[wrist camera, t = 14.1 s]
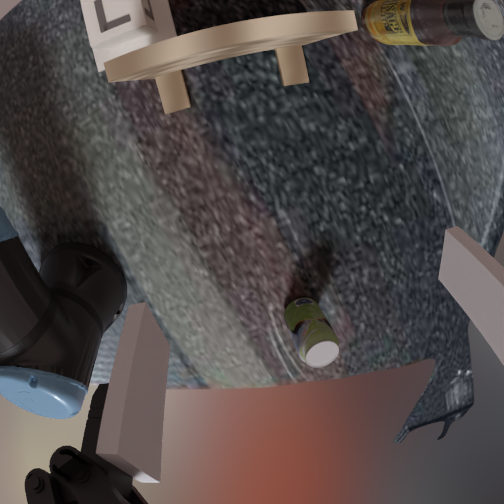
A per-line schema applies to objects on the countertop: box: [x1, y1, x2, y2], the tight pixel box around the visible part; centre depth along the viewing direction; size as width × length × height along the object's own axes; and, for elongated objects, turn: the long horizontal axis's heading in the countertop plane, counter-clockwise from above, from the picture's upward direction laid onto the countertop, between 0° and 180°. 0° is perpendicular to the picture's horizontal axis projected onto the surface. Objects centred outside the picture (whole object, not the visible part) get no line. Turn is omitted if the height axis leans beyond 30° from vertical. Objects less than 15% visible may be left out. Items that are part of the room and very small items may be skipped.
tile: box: [92, 0, 177, 72], centre depth 27 cm, size 10×10×1 cm
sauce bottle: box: [362, 0, 504, 46], centre depth 21 cm, size 7×6×20 cm
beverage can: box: [284, 298, 339, 368], centre depth 47 cm, size 6×7×12 cm
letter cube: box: [80, 0, 158, 50], centre depth 24 cm, size 6×6×6 cm
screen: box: [104, 11, 358, 114], centre depth 25 cm, size 18×6×16 cm, turn 102°
